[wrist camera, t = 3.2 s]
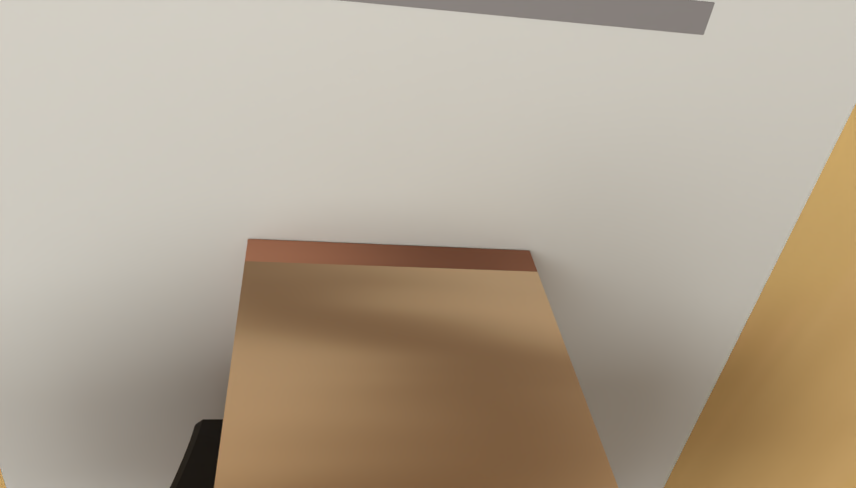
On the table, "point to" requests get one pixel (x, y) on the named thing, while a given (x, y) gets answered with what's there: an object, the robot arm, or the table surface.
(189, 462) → the robot arm
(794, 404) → the table surface
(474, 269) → the block
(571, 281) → the board
